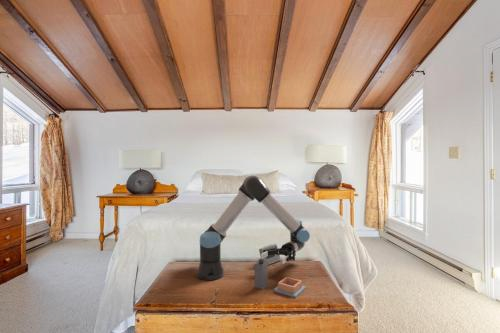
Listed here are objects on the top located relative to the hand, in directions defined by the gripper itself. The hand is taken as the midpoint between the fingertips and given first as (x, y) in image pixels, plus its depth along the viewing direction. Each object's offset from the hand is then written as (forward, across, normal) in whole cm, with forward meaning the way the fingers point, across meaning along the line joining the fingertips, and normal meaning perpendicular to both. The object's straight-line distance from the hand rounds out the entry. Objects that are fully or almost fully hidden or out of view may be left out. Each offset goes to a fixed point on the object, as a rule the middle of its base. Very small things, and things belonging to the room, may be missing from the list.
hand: (271, 259), depth 150 cm
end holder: (+5, -14, -12) cm, 19 cm away
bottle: (+10, 0, -11) cm, 15 cm away
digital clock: (-22, +14, -12) cm, 29 cm away
